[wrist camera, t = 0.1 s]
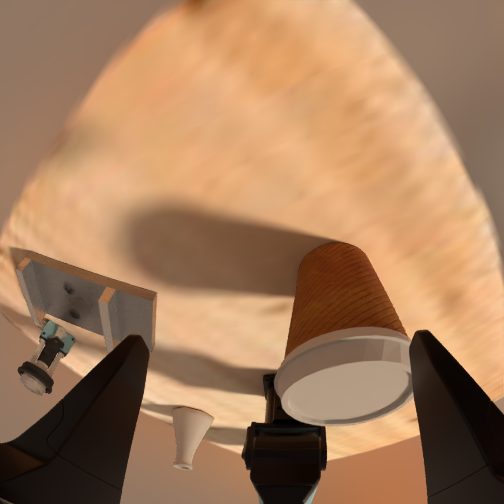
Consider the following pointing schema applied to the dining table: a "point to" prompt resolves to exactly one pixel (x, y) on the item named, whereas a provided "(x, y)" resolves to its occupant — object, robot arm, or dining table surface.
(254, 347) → the dining table surface
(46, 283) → the bracket
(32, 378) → the push button
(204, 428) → the flask
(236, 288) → the dining table surface
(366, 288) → the disposable coffee cup
